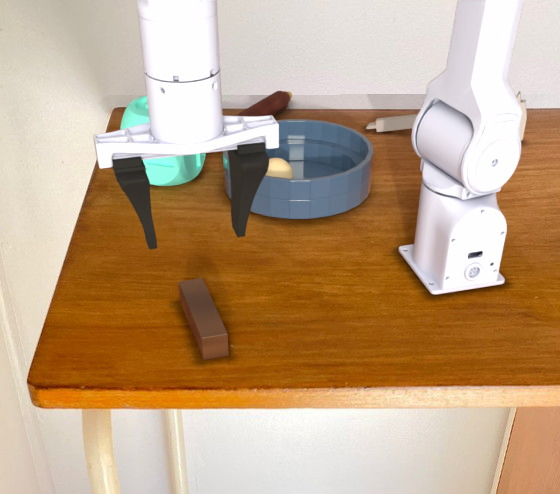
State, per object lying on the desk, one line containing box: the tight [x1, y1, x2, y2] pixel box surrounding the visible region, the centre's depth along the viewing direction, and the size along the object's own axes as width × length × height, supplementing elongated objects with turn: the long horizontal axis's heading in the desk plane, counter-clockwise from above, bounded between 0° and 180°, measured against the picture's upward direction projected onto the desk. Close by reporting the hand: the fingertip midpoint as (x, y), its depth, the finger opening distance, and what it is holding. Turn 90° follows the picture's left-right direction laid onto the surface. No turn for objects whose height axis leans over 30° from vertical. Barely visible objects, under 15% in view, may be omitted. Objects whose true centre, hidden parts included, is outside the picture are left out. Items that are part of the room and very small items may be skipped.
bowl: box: [222, 118, 375, 220], centre depth 99 cm, size 17×17×5 cm
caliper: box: [365, 90, 528, 142], centre depth 110 cm, size 20×1×6 cm, turn 77°
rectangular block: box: [178, 277, 230, 361], centre depth 79 cm, size 10×2×2 cm, turn 17°
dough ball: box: [266, 158, 293, 179], centre depth 97 cm, size 4×4×4 cm
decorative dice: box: [119, 94, 207, 187], centre depth 101 cm, size 8×8×8 cm
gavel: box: [223, 90, 293, 117], centre depth 113 cm, size 21×5×10 cm
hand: (195, 237), depth 73 cm, fingers open, 7 cm apart
